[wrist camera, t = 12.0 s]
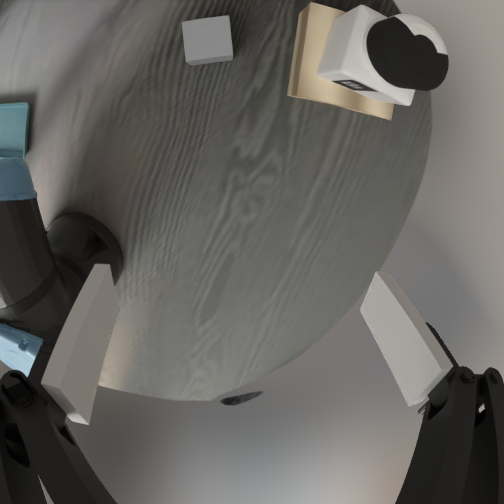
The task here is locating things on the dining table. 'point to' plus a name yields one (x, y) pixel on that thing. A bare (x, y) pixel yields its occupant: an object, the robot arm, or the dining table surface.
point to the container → (383, 55)
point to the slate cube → (207, 40)
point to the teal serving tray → (14, 129)
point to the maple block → (307, 61)
